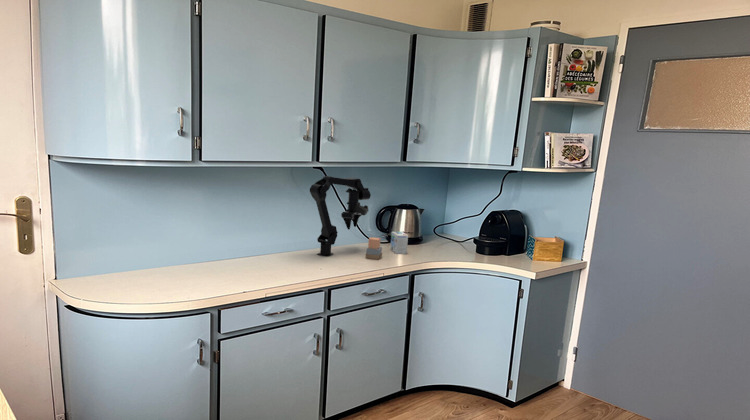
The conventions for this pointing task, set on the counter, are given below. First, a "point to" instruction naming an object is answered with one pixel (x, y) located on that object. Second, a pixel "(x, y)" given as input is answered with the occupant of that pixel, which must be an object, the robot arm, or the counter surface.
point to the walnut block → (373, 256)
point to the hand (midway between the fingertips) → (351, 228)
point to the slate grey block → (374, 251)
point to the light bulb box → (399, 242)
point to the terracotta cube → (374, 243)
